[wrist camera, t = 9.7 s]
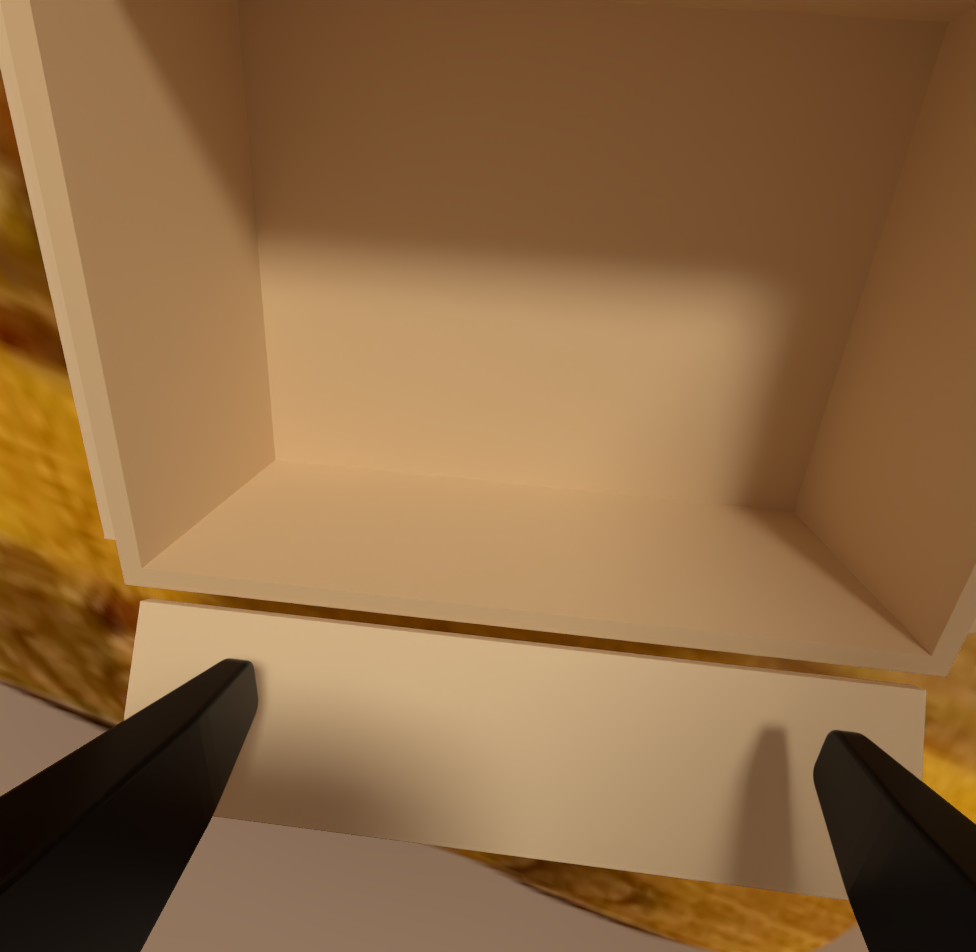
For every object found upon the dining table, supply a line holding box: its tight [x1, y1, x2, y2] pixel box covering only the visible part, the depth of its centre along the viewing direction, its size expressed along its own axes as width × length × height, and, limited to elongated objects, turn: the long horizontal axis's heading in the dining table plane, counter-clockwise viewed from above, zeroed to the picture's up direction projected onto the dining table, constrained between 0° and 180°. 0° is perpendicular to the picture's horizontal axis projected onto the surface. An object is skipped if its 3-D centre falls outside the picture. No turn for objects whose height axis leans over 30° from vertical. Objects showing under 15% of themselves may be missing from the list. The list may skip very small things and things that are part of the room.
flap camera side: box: [124, 599, 926, 900], centre depth 10 cm, size 14×4×1 cm, turn 86°
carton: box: [0, 0, 976, 677], centre depth 11 cm, size 16×12×6 cm
